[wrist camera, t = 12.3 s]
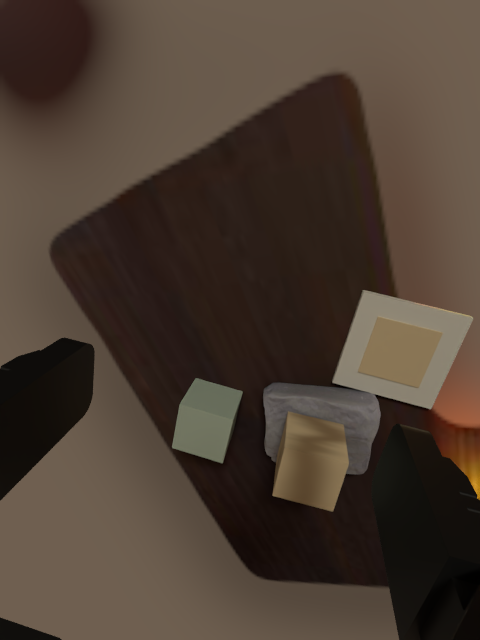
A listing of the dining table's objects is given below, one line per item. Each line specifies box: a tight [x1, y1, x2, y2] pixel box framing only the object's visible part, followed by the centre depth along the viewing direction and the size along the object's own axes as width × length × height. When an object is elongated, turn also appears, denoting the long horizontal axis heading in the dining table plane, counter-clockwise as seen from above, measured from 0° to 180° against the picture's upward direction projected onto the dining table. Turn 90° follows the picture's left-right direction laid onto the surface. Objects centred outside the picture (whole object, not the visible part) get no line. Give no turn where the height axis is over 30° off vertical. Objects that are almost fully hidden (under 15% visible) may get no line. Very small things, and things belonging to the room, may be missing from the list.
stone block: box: [263, 383, 381, 474], centre depth 40 cm, size 12×5×10 cm
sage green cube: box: [172, 378, 243, 463], centre depth 40 cm, size 6×6×6 cm
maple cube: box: [272, 412, 349, 511], centre depth 35 cm, size 6×6×6 cm
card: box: [332, 290, 473, 409], centre depth 37 cm, size 10×10×1 cm
